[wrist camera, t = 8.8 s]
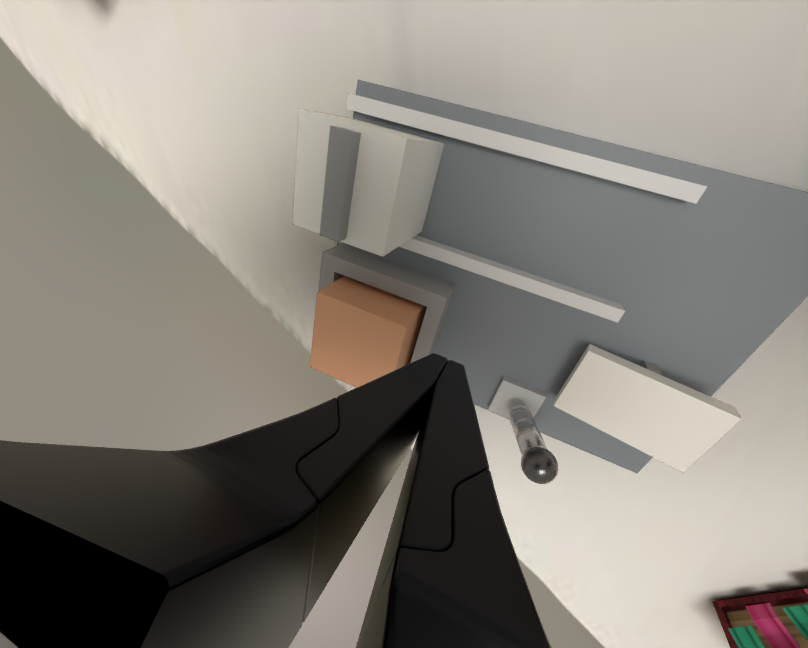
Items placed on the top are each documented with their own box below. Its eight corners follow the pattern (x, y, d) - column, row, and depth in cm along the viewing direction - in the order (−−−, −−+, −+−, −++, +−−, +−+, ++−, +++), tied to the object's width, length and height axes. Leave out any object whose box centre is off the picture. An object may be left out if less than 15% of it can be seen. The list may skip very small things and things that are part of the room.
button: (430, 295, 18) (406, 327, 15) (411, 360, 21) (386, 401, 17) (356, 268, 19) (317, 292, 16) (345, 333, 21) (309, 366, 18)
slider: (444, 143, 15) (400, 137, 10) (421, 231, 17) (376, 260, 12) (363, 121, 15) (287, 105, 11) (351, 208, 18) (283, 227, 13)
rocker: (735, 407, 14) (741, 418, 13) (680, 460, 16) (683, 472, 15) (589, 343, 16) (588, 350, 15) (555, 397, 18) (553, 405, 17)
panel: (832, 203, 13) (949, 222, 10) (627, 440, 21) (646, 504, 17) (380, 89, 17) (335, 70, 13) (343, 324, 24) (307, 355, 21)
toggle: (536, 400, 18) (570, 472, 15) (524, 420, 19) (553, 493, 15) (509, 395, 18) (536, 467, 14) (498, 415, 19) (521, 488, 15)
